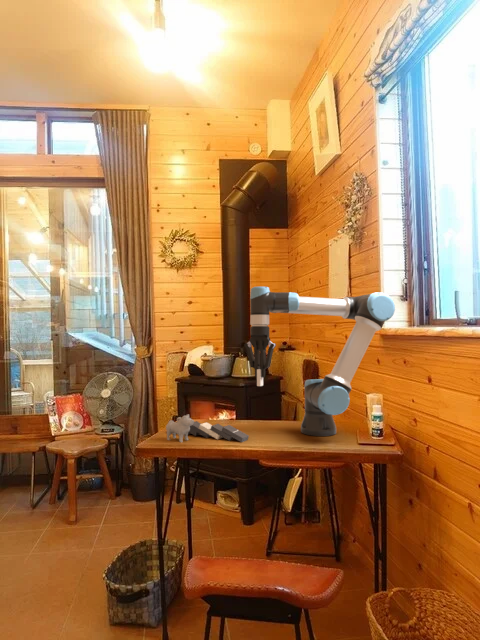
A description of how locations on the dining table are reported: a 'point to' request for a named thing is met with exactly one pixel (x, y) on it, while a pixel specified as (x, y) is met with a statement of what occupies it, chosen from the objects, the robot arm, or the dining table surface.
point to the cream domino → (207, 427)
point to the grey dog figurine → (179, 427)
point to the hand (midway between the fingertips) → (260, 385)
